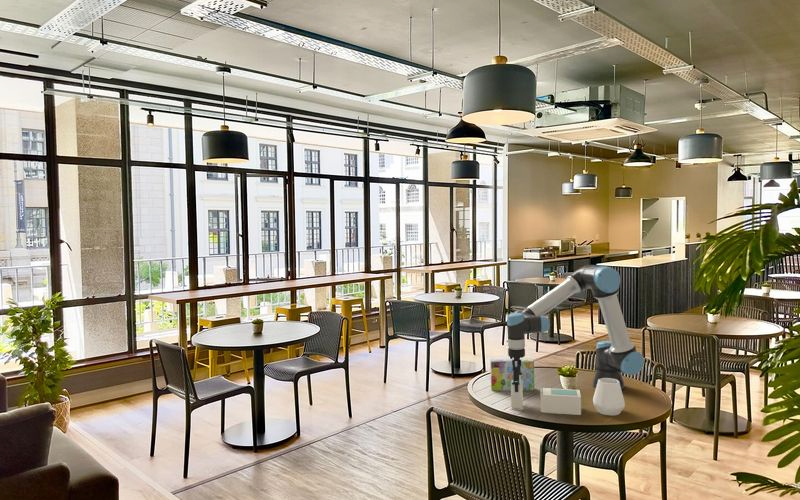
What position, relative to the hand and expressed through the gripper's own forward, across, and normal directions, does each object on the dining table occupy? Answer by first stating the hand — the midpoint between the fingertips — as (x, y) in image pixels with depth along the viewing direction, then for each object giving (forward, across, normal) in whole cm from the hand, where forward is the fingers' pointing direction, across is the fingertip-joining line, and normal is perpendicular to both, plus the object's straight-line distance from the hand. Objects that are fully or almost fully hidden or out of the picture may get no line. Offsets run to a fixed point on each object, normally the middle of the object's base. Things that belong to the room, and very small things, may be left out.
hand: (517, 393), depth 253 cm
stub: (+6, 0, 0) cm, 6 cm away
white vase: (+7, -1, +39) cm, 40 cm away
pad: (+6, 0, 0) cm, 6 cm away
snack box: (+7, -26, -4) cm, 27 cm away
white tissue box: (+6, 0, +19) cm, 20 cm away
